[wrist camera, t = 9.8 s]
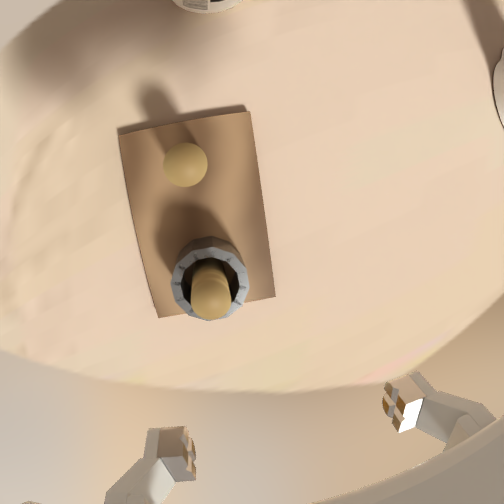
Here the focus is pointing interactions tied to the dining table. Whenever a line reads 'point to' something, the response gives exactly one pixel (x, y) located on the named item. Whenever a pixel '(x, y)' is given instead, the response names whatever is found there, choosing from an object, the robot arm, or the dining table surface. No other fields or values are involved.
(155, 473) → the robot arm
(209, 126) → the post board
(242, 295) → the ring
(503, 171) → the dining table surface
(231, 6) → the supplement can
